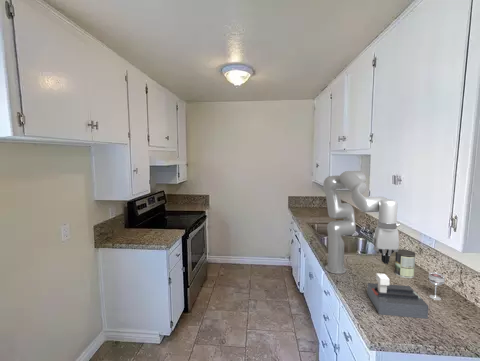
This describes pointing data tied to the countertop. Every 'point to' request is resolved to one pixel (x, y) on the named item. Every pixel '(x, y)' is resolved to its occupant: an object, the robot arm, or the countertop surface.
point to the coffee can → (405, 263)
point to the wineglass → (436, 282)
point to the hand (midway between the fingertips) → (385, 262)
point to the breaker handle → (382, 282)
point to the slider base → (398, 301)
